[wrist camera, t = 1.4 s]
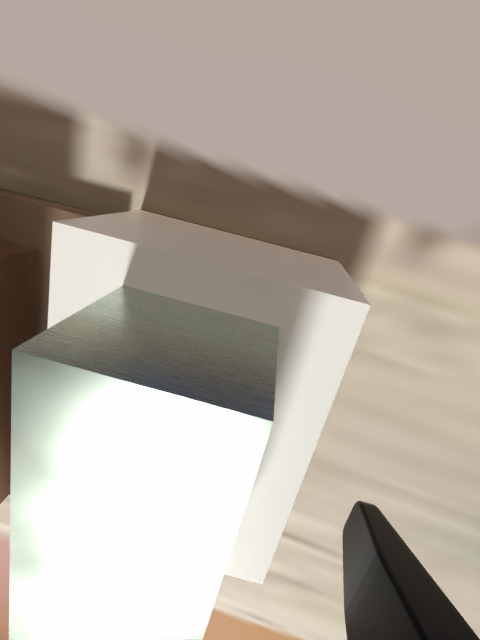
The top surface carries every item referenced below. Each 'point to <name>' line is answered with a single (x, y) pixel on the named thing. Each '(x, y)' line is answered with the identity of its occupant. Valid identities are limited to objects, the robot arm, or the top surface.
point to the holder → (241, 300)
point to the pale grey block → (133, 465)
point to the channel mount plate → (23, 291)
